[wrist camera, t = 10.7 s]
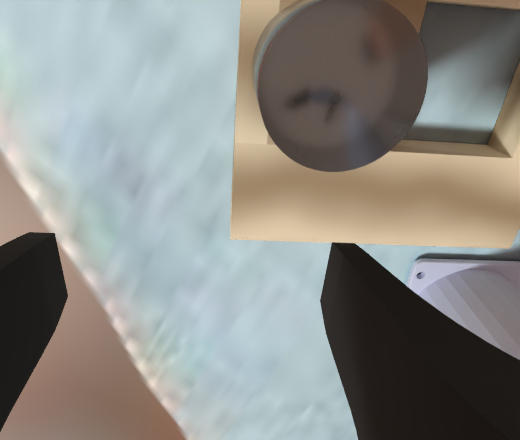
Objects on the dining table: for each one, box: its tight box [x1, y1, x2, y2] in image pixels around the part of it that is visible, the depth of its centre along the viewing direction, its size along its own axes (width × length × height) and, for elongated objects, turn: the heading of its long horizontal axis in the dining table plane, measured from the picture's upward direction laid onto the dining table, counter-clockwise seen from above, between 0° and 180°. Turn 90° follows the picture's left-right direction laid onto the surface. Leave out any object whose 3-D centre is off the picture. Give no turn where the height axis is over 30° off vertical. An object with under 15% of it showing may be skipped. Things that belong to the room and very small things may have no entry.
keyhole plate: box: [230, 0, 520, 249], centre depth 17 cm, size 16×15×2 cm
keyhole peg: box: [252, 0, 428, 172], centre depth 14 cm, size 5×5×7 cm
